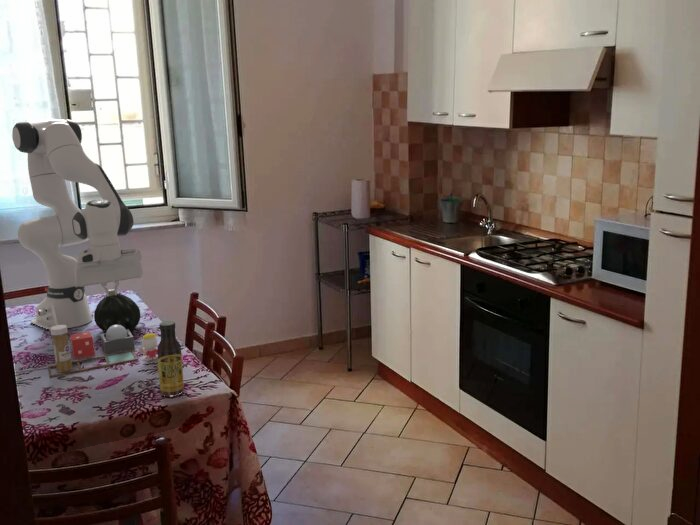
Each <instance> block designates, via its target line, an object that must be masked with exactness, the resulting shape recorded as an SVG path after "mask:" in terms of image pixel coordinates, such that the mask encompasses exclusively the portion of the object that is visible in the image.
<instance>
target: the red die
mask: <svg viewBox="0 0 700 525" xmlns="http://www.w3.org/2000/svg"><path fill="white" fill-rule="evenodd" d="M69 337H70V345H71V350H72V351H71V352H72V355H73V358H74V359H80V358H85V357H92V356H96V353H95V351H96V350H95V345H94V338H93V335H92V333H91V331H84V332H80V333H78V332H77V333H73V334H70V335H69Z"/></svg>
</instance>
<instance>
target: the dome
mask: <svg viewBox="0 0 700 525" xmlns="http://www.w3.org/2000/svg"><path fill="white" fill-rule="evenodd" d="M105 333H106V339H107V341H109V340H114V339H120V338H125V337H127V331H126V329H125V328H124V327H123V326H121V325H113V326H111V327H109V329H108V330H107V332H106V331H105Z"/></svg>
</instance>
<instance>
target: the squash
mask: <svg viewBox="0 0 700 525" xmlns="http://www.w3.org/2000/svg"><path fill="white" fill-rule="evenodd" d="M93 316H94V322H95V324H96V326H97V327H98V328H99V329H100V330H102V331H103V332H105V333H106V332H107V330H108V329H109V327H111V326H113V325H121V326H123V327H124V328H125V329H129V331H130V332H131V331H133V330H134V329H135V328H136V327H137V326H138V324H139V323H140V321H141V309H140V308H139V305H138V304H137V303H136V302H135V301H134V300H133V299H132V298H130V297H129V296H126V295H124V294H122V293H119V292H117V295H114V296H107V295H106V296H104V297H103V298H102V299H100V300H99V302H98V303H97V305H96V306H95V310H94V313H93Z"/></svg>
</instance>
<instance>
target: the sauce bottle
mask: <svg viewBox="0 0 700 525" xmlns="http://www.w3.org/2000/svg"><path fill="white" fill-rule="evenodd" d="M158 328H159V330H160V341H159V343H158V346H157V347H156V348H157V351H158V354H157V367H158V368H157V369H158V380H159V381H158V382H159V390H160V395H161V396H162V395H165V396H170V395H176V394H179V393H181V392H182V391H183V392H184V388H185V385H184V369H183V367H184V366H183V356H182V348H181V344H180V341H179V340H178V339H177V338H176V337H177V336H176V322H175V321H174V320H165V321H162V322H160V323H159V327H158Z"/></svg>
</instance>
